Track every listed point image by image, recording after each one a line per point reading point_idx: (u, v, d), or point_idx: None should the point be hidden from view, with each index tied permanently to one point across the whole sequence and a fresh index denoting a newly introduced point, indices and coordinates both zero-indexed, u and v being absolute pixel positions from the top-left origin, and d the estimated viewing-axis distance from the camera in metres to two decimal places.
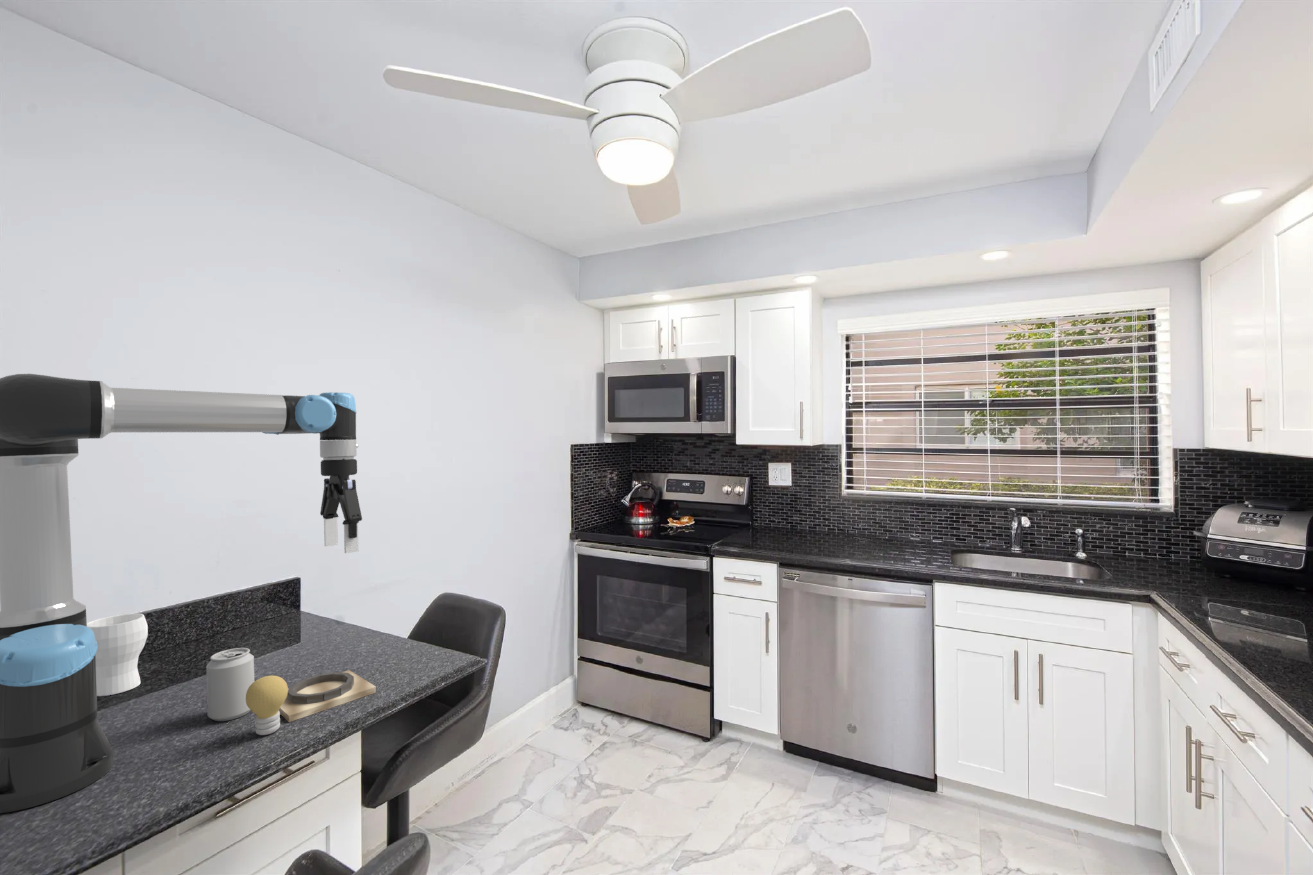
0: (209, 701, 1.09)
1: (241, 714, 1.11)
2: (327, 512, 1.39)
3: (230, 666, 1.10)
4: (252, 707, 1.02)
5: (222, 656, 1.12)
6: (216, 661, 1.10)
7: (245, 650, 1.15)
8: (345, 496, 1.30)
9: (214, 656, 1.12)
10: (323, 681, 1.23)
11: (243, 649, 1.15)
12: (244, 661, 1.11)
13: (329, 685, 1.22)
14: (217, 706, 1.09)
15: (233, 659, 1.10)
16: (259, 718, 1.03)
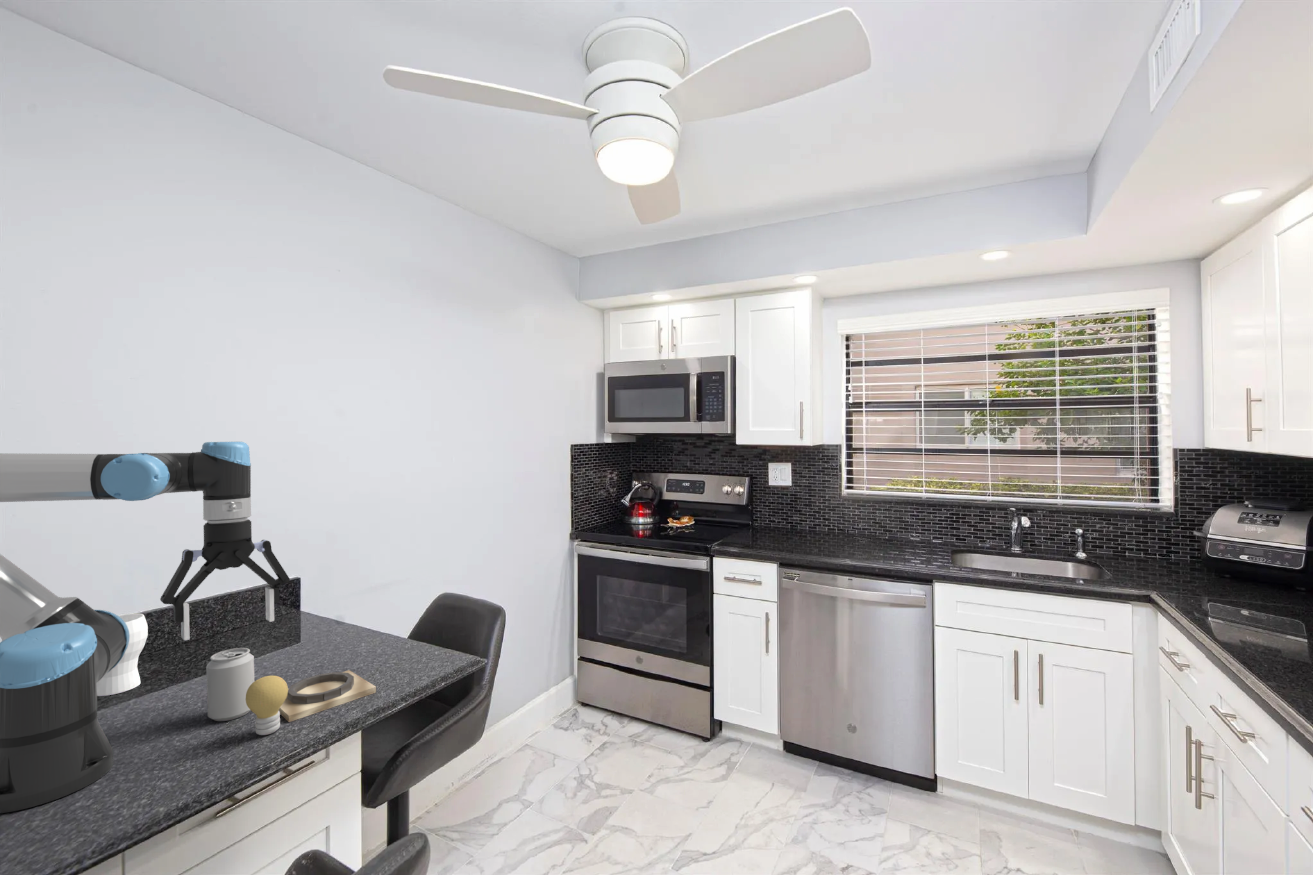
0: (209, 701, 1.09)
1: (241, 714, 1.11)
2: None
3: (230, 666, 1.10)
4: (252, 707, 1.02)
5: (222, 656, 1.12)
6: (216, 661, 1.10)
7: (245, 650, 1.15)
8: None
9: (214, 656, 1.12)
10: (323, 681, 1.23)
11: (243, 649, 1.15)
12: (244, 661, 1.11)
13: (329, 685, 1.22)
14: (217, 706, 1.09)
15: (233, 659, 1.10)
16: (259, 718, 1.03)
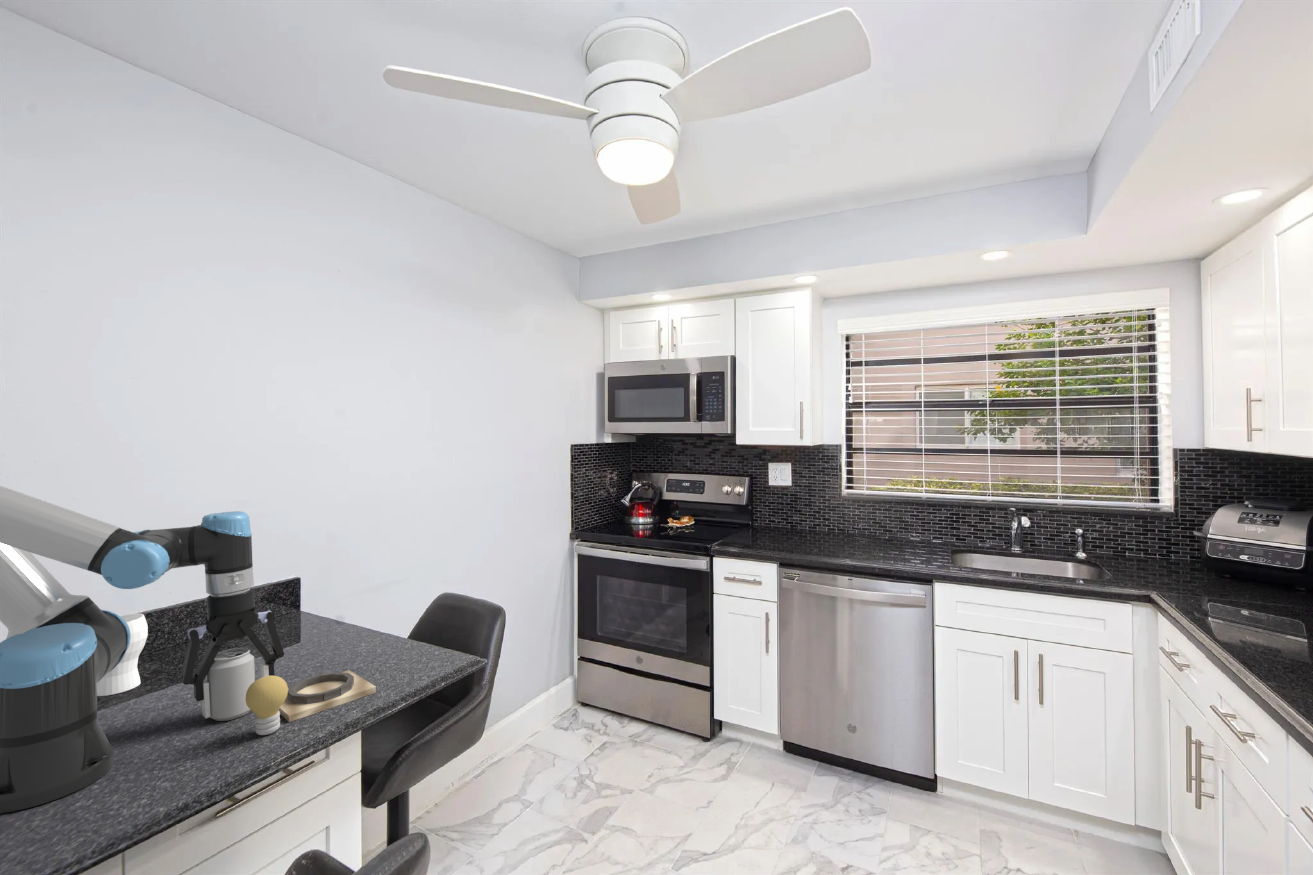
0: (210, 701, 1.09)
1: (241, 713, 1.11)
2: (259, 653, 1.17)
3: (231, 666, 1.10)
4: (252, 707, 1.02)
5: (223, 656, 1.12)
6: (217, 661, 1.10)
7: (246, 650, 1.15)
8: None
9: None
10: (323, 681, 1.23)
11: (244, 649, 1.15)
12: (244, 661, 1.12)
13: (329, 685, 1.22)
14: (218, 705, 1.09)
15: (233, 659, 1.10)
16: (259, 718, 1.03)
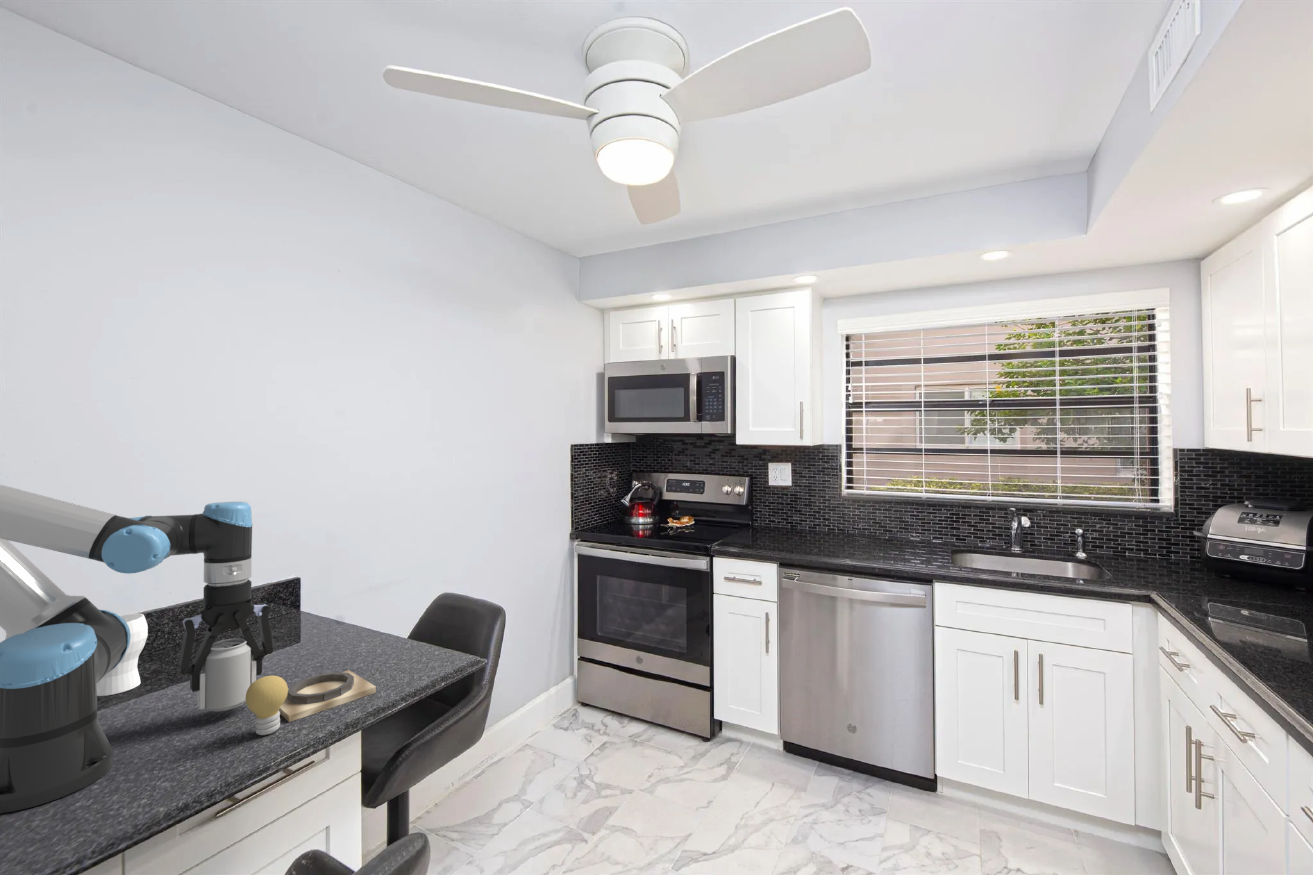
0: None
1: (236, 704, 1.10)
2: None
3: (227, 656, 1.09)
4: (252, 707, 1.02)
5: (219, 646, 1.12)
6: (213, 651, 1.09)
7: (242, 641, 1.15)
8: None
9: None
10: (323, 681, 1.23)
11: (240, 640, 1.15)
12: (240, 652, 1.11)
13: (329, 685, 1.22)
14: (212, 696, 1.08)
15: (229, 650, 1.10)
16: (259, 718, 1.03)
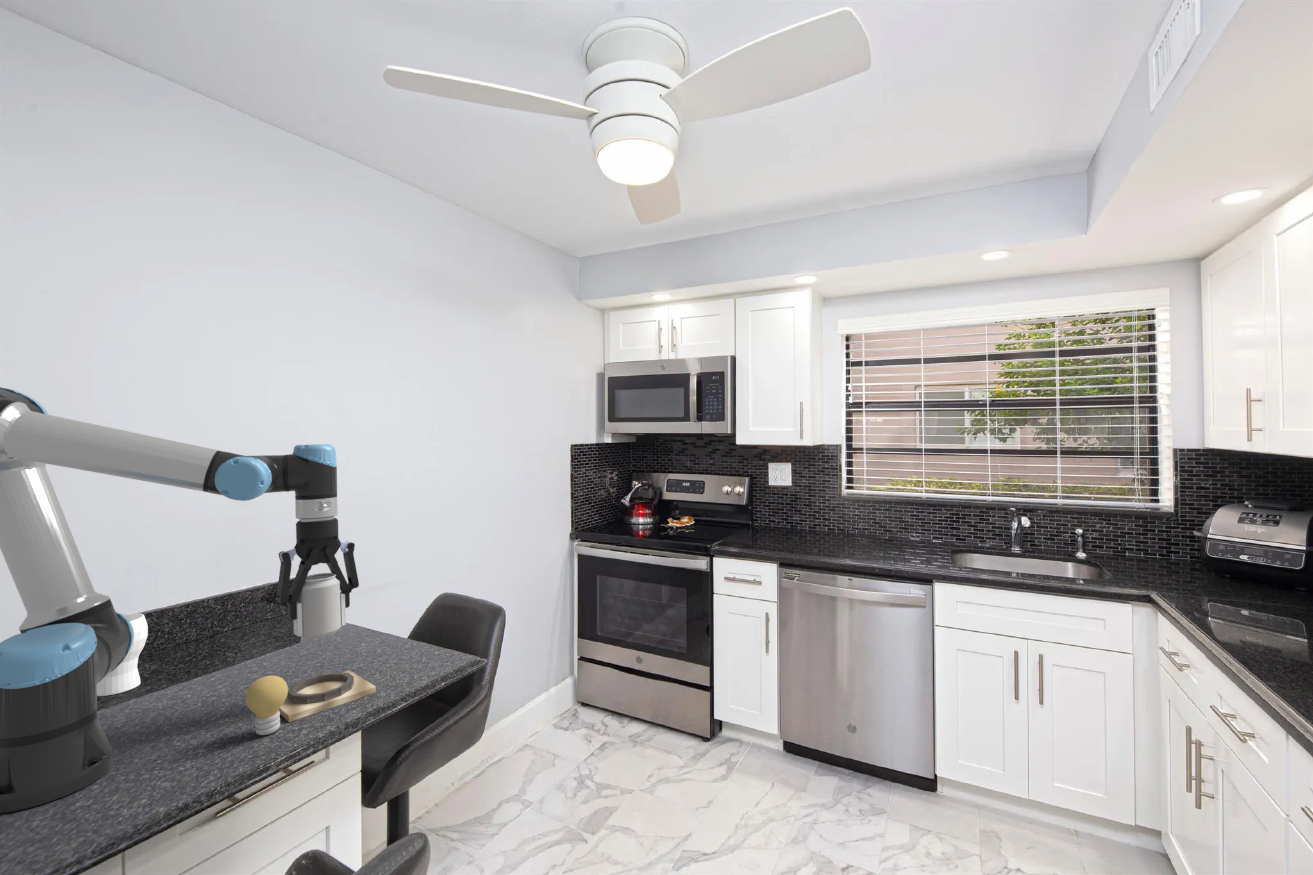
0: None
1: (330, 632, 1.17)
2: None
3: (321, 587, 1.16)
4: (252, 707, 1.02)
5: (311, 579, 1.19)
6: (307, 582, 1.16)
7: (331, 575, 1.21)
8: None
9: None
10: (323, 681, 1.23)
11: (329, 574, 1.22)
12: (332, 583, 1.18)
13: (329, 685, 1.22)
14: (309, 623, 1.15)
15: (322, 581, 1.17)
16: (259, 718, 1.03)
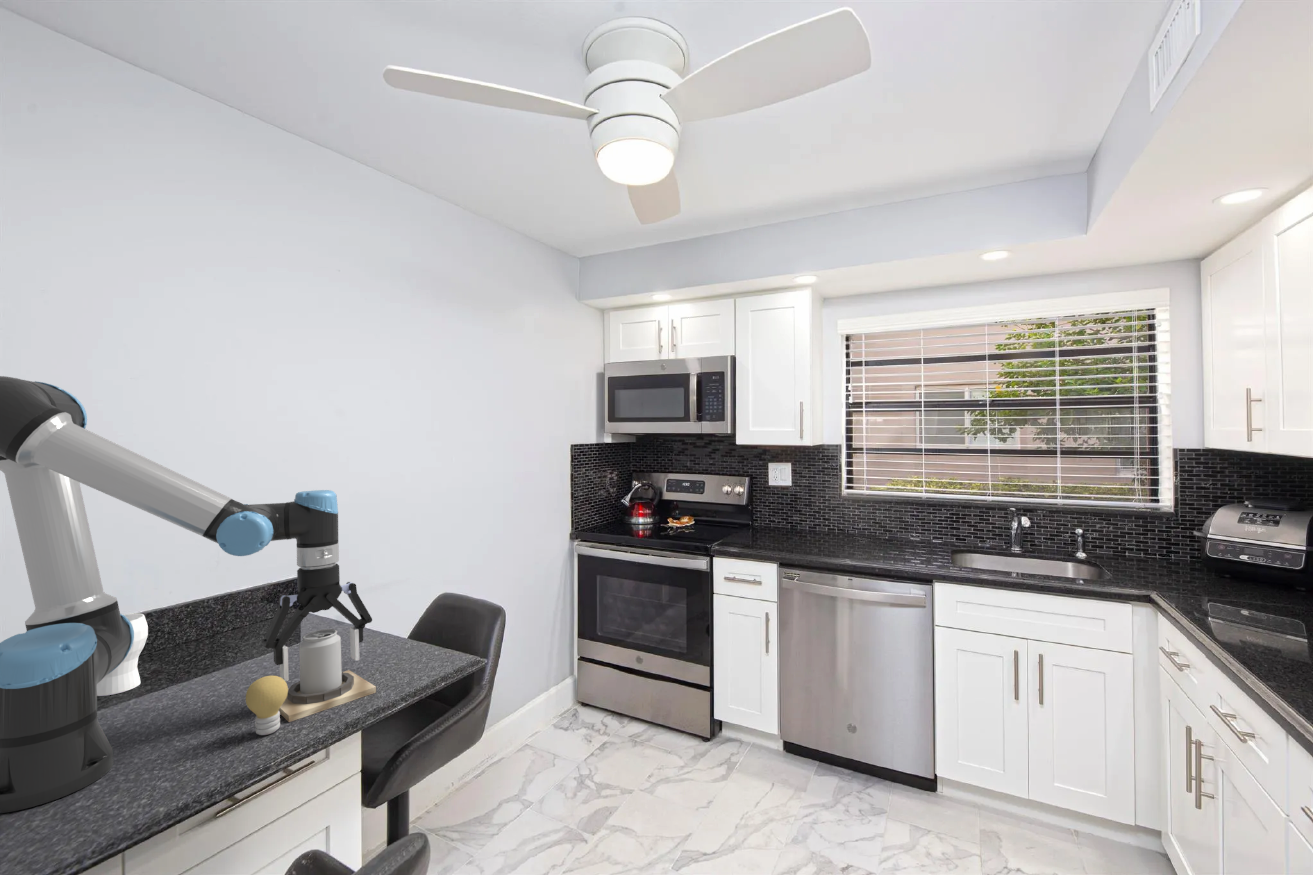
0: (302, 678, 1.16)
1: None
2: None
3: (321, 645, 1.16)
4: (252, 707, 1.02)
5: (312, 636, 1.19)
6: (308, 640, 1.16)
7: (332, 631, 1.21)
8: None
9: (305, 636, 1.18)
10: None
11: (330, 630, 1.22)
12: (333, 641, 1.18)
13: None
14: (310, 682, 1.15)
15: (323, 639, 1.17)
16: (259, 718, 1.03)
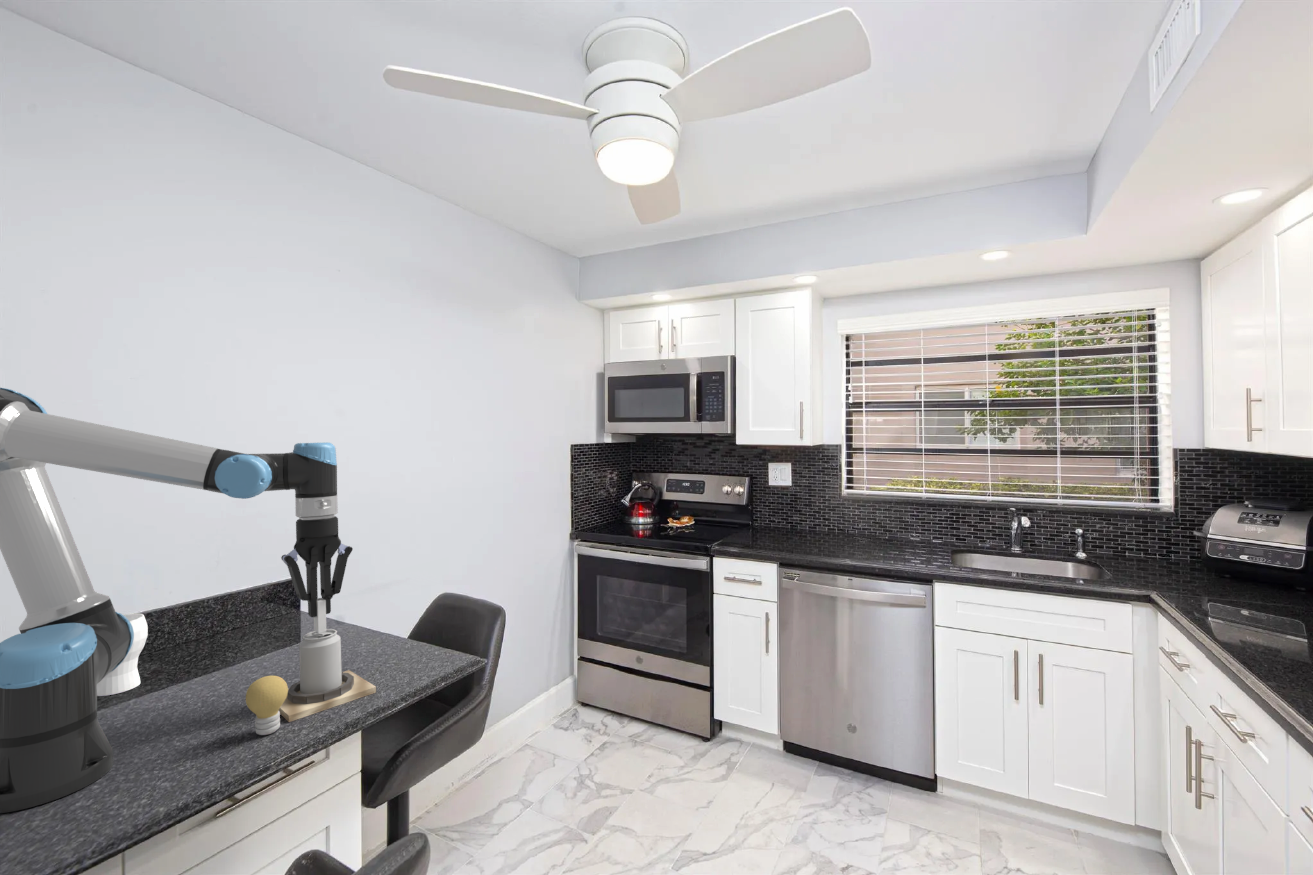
0: (302, 678, 1.16)
1: None
2: (321, 586, 1.20)
3: (321, 646, 1.16)
4: (252, 707, 1.02)
5: (312, 636, 1.19)
6: (308, 640, 1.16)
7: (332, 631, 1.21)
8: None
9: (305, 636, 1.18)
10: None
11: (330, 630, 1.22)
12: (333, 641, 1.18)
13: None
14: (310, 682, 1.15)
15: (323, 639, 1.17)
16: (259, 718, 1.03)
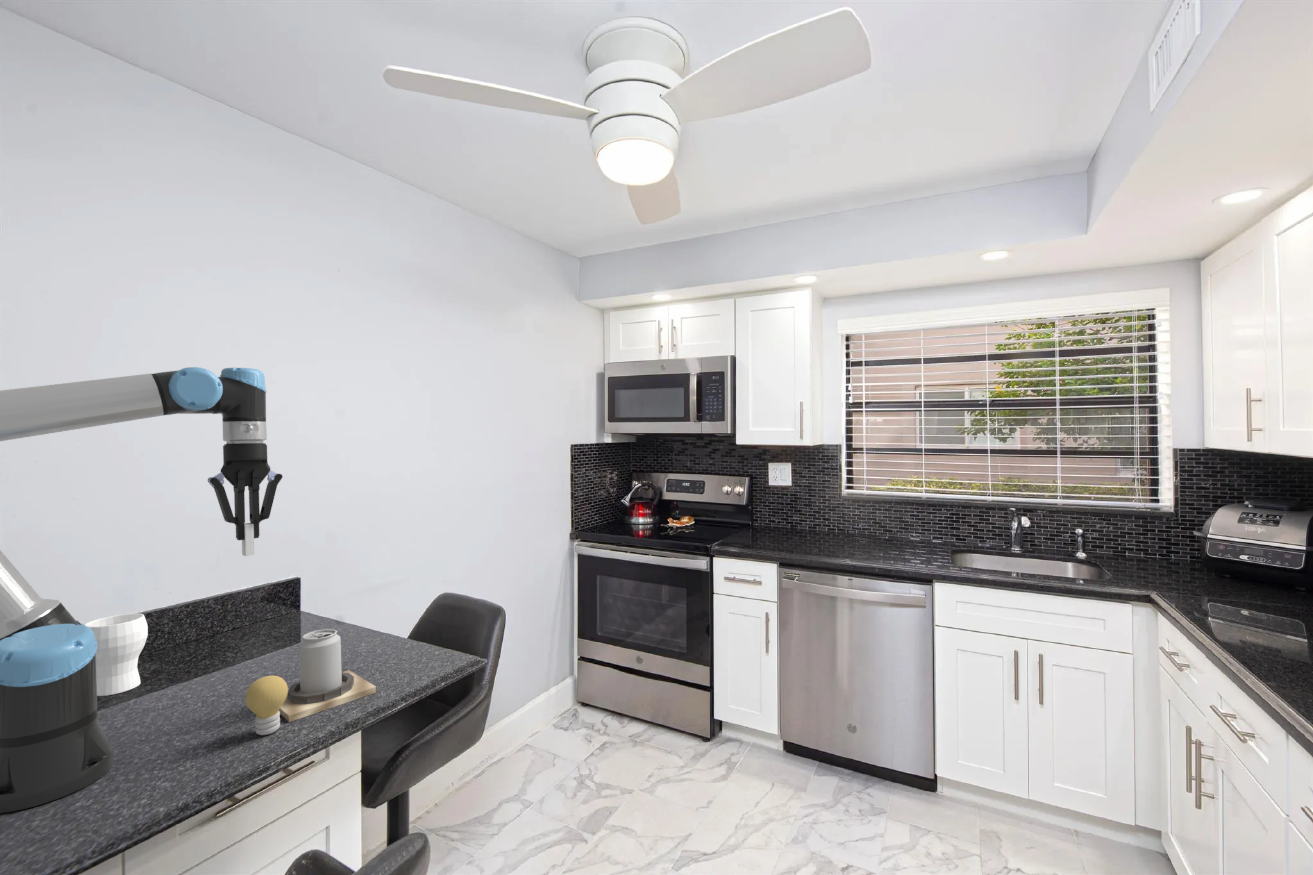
0: (302, 678, 1.16)
1: None
2: (249, 511, 1.22)
3: (321, 646, 1.16)
4: (252, 707, 1.02)
5: (312, 636, 1.19)
6: (308, 640, 1.16)
7: (332, 631, 1.21)
8: None
9: (305, 636, 1.18)
10: None
11: (330, 630, 1.22)
12: (333, 641, 1.18)
13: None
14: (310, 682, 1.15)
15: (323, 639, 1.17)
16: (259, 718, 1.03)
